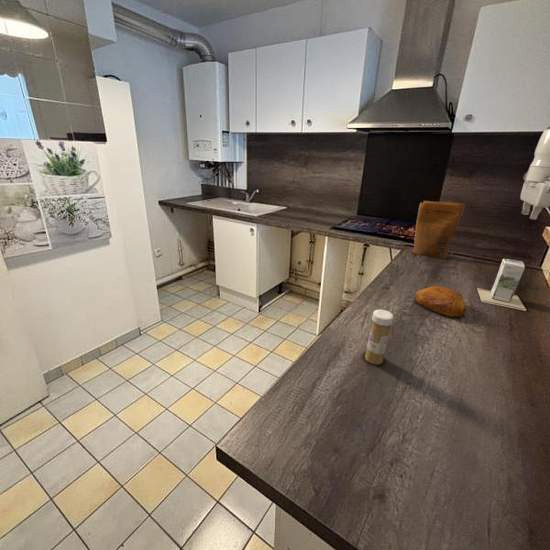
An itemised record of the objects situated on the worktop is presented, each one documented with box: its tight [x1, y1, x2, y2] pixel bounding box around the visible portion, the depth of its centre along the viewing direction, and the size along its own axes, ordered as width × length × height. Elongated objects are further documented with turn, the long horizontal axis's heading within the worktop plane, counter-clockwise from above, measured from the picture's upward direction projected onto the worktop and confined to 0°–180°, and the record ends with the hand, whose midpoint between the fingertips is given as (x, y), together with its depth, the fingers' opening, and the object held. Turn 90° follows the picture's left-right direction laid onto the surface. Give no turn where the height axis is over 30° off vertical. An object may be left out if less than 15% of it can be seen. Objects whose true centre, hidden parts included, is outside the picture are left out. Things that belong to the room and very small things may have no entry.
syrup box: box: [491, 258, 526, 303], centre depth 104 cm, size 6×6×14 cm
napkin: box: [476, 287, 527, 312], centre depth 107 cm, size 13×13×1 cm
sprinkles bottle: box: [364, 309, 394, 366], centre depth 71 cm, size 5×5×14 cm
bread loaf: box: [415, 285, 467, 318], centre depth 99 cm, size 14×16×8 cm
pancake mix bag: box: [411, 200, 466, 260], centre depth 145 cm, size 7×19×28 cm, turn 59°
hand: (528, 216), depth 104 cm, fingers open, 8 cm apart
